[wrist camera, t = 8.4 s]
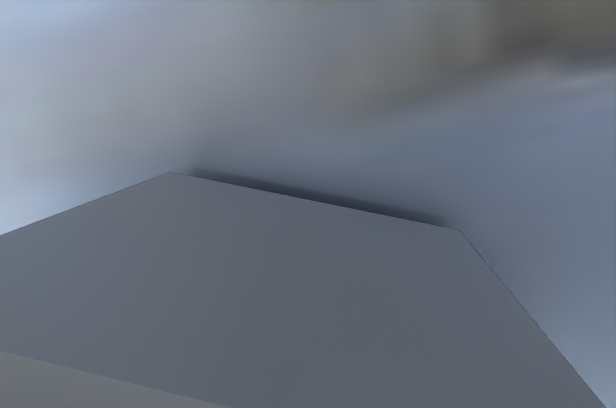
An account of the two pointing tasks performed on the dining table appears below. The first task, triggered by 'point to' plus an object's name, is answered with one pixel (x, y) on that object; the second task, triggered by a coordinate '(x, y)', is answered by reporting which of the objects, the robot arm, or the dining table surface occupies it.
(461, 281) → the grey cube
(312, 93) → the dining table surface
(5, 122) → the dining table surface
